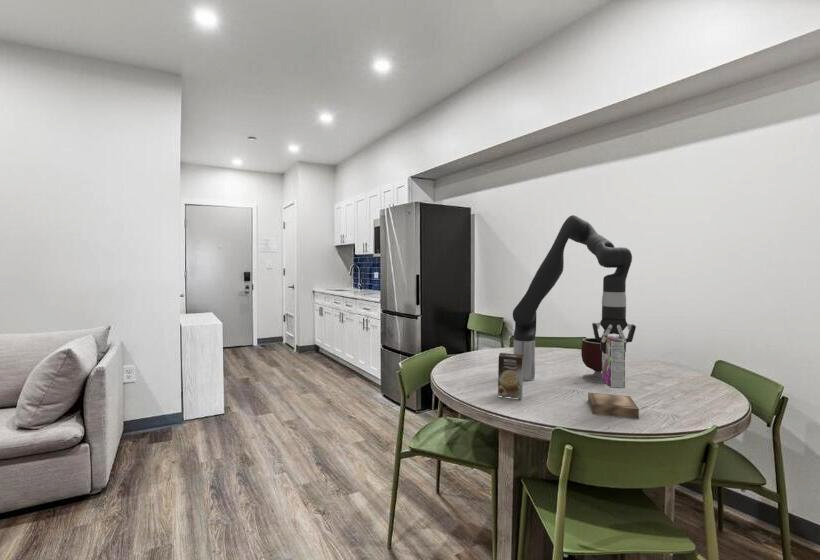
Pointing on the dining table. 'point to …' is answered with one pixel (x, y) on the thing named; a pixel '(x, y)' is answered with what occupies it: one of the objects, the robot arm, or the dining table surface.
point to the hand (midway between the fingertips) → (613, 352)
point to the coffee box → (510, 375)
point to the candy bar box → (614, 362)
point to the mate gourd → (592, 359)
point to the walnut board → (613, 405)
